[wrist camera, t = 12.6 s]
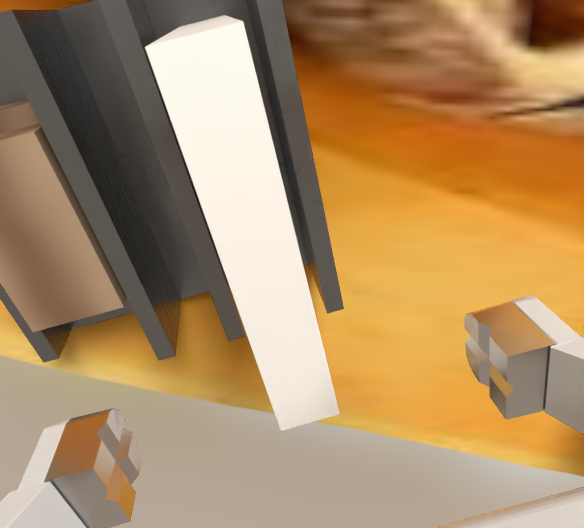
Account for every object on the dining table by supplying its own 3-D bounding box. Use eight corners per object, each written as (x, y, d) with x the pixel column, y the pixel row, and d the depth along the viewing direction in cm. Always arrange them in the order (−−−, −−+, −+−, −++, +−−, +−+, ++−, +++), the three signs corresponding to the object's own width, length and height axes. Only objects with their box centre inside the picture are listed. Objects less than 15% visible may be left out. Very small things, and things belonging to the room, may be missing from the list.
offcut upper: (50, 120, 23) (33, 131, 20) (130, 284, 28) (123, 307, 25) (-53, 147, 22) (-81, 162, 20) (46, 306, 27) (32, 332, 25)
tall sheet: (224, 14, 24) (243, 21, 11) (284, 244, 31) (339, 414, 18) (179, 26, 24) (144, 47, 11) (250, 253, 31) (281, 431, 18)
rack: (254, -39, 24) (270, -57, 18) (318, 252, 33) (343, 308, 27) (-104, 53, 23) (-218, 68, 17) (62, 323, 32) (27, 397, 26)
